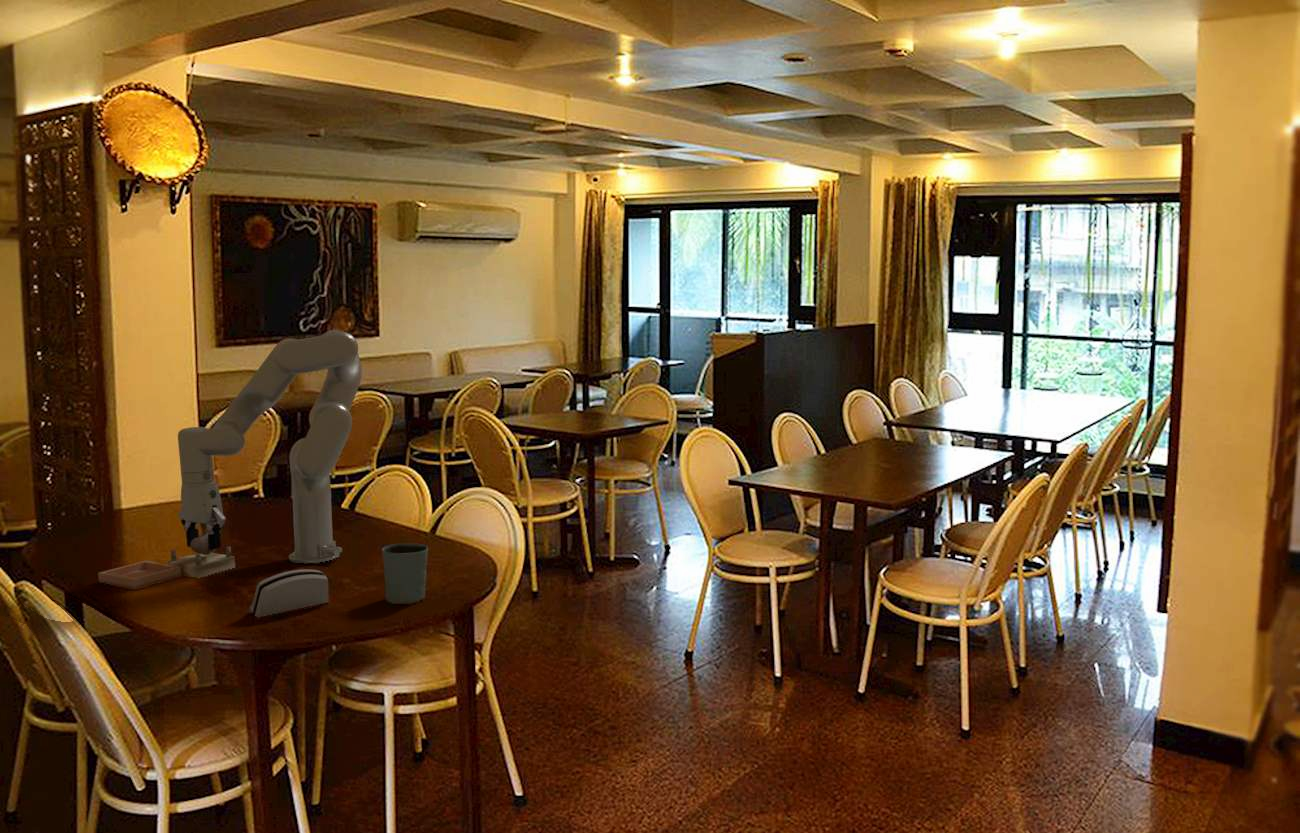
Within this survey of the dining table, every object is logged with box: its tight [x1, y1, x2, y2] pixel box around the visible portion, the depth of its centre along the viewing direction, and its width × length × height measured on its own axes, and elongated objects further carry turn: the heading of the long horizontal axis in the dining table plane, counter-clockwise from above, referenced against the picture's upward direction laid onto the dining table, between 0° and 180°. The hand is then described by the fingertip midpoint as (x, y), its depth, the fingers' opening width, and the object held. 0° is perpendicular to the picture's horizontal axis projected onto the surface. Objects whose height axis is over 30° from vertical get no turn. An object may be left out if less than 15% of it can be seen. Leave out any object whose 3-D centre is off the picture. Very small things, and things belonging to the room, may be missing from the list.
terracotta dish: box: [97, 560, 182, 590], centre depth 270 cm, size 13×13×2 cm
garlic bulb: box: [189, 524, 217, 555], centre depth 277 cm, size 8×7×8 cm
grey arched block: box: [249, 568, 329, 617], centre depth 245 cm, size 17×5×10 cm, turn 131°
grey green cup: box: [381, 542, 429, 603], centre depth 252 cm, size 10×10×12 cm
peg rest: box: [167, 546, 236, 579], centre depth 278 cm, size 11×11×6 cm
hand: (204, 546), depth 278 cm, fingers closed on garlic bulb, 7 cm apart
